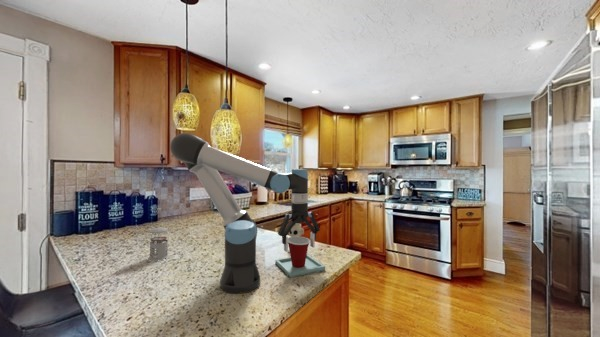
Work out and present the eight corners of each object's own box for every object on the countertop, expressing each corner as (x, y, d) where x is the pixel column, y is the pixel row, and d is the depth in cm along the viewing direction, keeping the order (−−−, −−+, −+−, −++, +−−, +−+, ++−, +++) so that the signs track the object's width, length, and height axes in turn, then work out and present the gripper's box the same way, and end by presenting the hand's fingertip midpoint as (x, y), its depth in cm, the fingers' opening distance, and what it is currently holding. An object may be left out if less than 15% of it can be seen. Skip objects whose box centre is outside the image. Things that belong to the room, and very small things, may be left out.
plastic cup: (304, 272, 104) (304, 243, 104) (282, 267, 108) (282, 241, 108) (314, 263, 114) (314, 237, 114) (293, 259, 118) (293, 235, 118)
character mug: (283, 247, 138) (283, 225, 138) (289, 244, 144) (289, 222, 144) (301, 250, 133) (301, 226, 133) (306, 246, 140) (306, 224, 140)
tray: (290, 277, 100) (290, 273, 100) (275, 263, 115) (275, 259, 115) (325, 270, 107) (325, 266, 107) (307, 257, 122) (307, 254, 122)
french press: (152, 263, 115) (152, 210, 115) (142, 257, 122) (142, 207, 122) (173, 257, 123) (173, 207, 123) (163, 252, 130) (163, 205, 130)
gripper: (277, 205, 102) (276, 255, 102) (327, 201, 113) (326, 247, 113) (271, 202, 109) (270, 250, 109) (318, 200, 120) (318, 242, 120)
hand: (299, 248), depth 111 cm, fingers open, 13 cm apart
